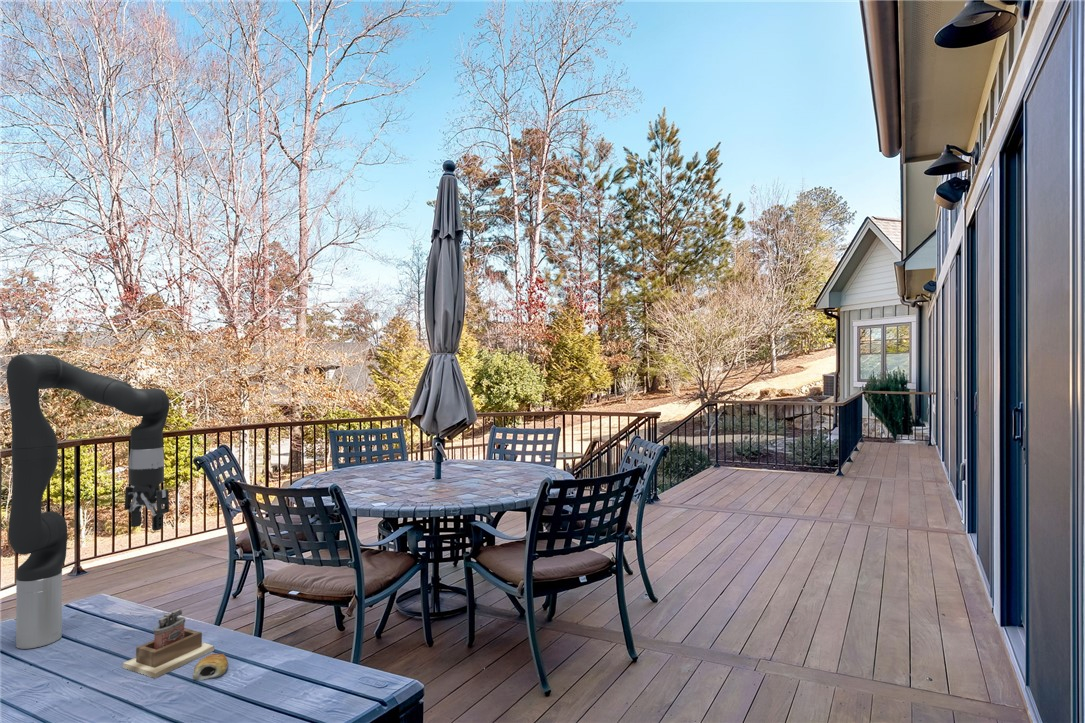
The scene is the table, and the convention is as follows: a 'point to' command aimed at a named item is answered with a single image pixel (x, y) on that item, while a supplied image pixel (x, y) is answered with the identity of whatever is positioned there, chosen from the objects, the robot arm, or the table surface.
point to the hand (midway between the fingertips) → (146, 528)
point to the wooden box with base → (168, 655)
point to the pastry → (210, 667)
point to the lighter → (169, 629)
